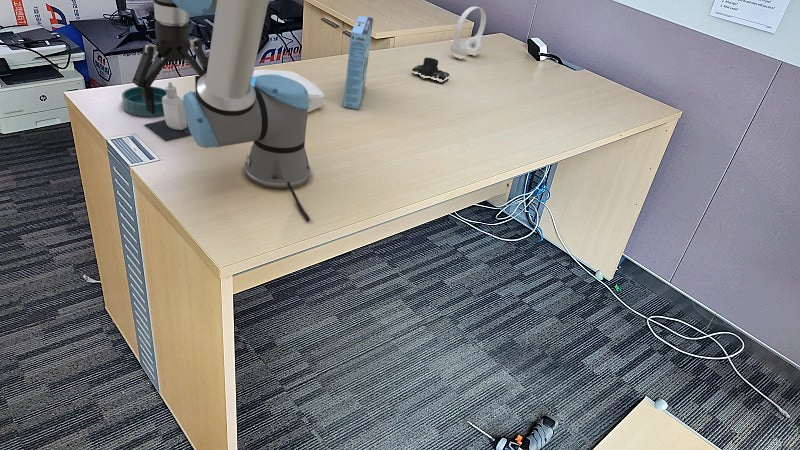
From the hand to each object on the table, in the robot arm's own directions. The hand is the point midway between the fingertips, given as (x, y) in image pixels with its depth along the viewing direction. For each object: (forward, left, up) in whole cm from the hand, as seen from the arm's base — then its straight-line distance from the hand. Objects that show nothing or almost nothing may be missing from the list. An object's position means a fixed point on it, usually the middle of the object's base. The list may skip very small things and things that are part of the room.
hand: (176, 106), depth 151 cm
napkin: (0, 0, -6) cm, 6 cm away
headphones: (+3, -130, -6) cm, 130 cm away
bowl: (+14, 0, -6) cm, 15 cm away
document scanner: (+2, -29, -6) cm, 30 cm away
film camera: (-6, -97, -6) cm, 97 cm away
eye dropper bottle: (0, 0, -6) cm, 6 cm away
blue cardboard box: (-6, -58, -6) cm, 59 cm away
